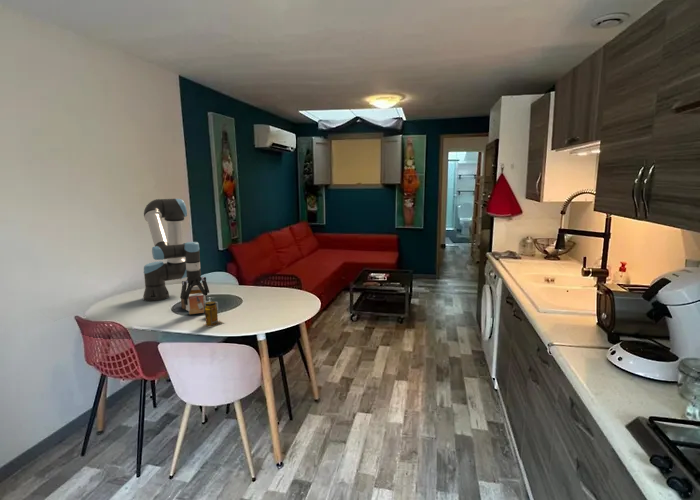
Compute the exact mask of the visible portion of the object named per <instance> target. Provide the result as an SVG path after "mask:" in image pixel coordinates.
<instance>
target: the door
mask: <svg viewBox="0 0 700 500" xmlns="http://www.w3.org/2000/svg"><path fill="white" fill-rule="evenodd" d="M207 302H211V301H210V300H209V301H207V300H206V303H207ZM215 302H216V307H217V312H218V311H219V302H218V301H215ZM205 308H206V307H205V306H204V311H205Z"/></svg>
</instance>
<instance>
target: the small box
mask: <svg viewBox="0 0 700 500" xmlns="http://www.w3.org/2000/svg"><path fill="white" fill-rule="evenodd" d="M188 299H189V303H190V311H188V314H189V315H195V314H205V310H204V300H203V294H202V293H197V294H189V297H188Z"/></svg>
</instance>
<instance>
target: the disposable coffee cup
mask: <svg viewBox="0 0 700 500" xmlns="http://www.w3.org/2000/svg"><path fill="white" fill-rule="evenodd" d="M200 283H201V284H202V286H203V283H202V282H200ZM203 288H204V286H203ZM197 293H202V292H201V290H200V289H199V287H198V286H193V288H192V289H191V292H190V294H197ZM202 294H203V293H202Z"/></svg>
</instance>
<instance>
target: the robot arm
mask: <svg viewBox="0 0 700 500" xmlns="http://www.w3.org/2000/svg"><path fill="white" fill-rule="evenodd" d="M144 207H145V208H144V209H143V210H144V211H143V217H144V220H145V221H146V222H147V224H148V229H149V231H150V235H151V239H152V241H153V244H154V245H153V247H152V248H151V255H152V258H153V260H155V261H153V262H152V261H151V262H149V263H146V264H145V265H144V266H143V275H144V278H143V279H144V286H145V288H144V290H143V291H144V292H143V295H142V298H143V299H144V300H143V301H145V300H146V301H147V302H157V301H162V300H166V299H168V298H170V292H169V290H168V288H167V285H166V282H169V281H176V280H182V279H186V280H185V281H184V280H182V281H181V284H182V286H181V293H180V300H181V299H184V304H185V305H186V309H185V310H186V311H188V312H189V311H190V303H189V299H188V297H189V294H190V292H191V289H192V288H193V286H198V287H199V289H200V290H201V292H202V293H203V300H204V306H206V305H205V303H206V301H207V300H208V299H207V298H208V297H207V296H208V294H210V289H209V286H208V283H207V277H206V276H202V270H201V256H200V255H201V253H200V243H199V242H198V241H187V242H184V239H183V237H184V236H183V222H184V221H185V218H186V217H187V216H188V210H187V205H186V203H185V201H184V200H183V199H181V198H161V199H160V198H158V199H153V200H151V201H150V202H148V203H147V205H146V206H144ZM162 218H163V220H164V221H165V222H166V223H167V233H166V230H165V226H164V223H163V220H162ZM157 260H158V261H157ZM162 260H166V263H164V261H162ZM201 283H202V284H203V286H204V288H203V286H202V284H201Z"/></svg>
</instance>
